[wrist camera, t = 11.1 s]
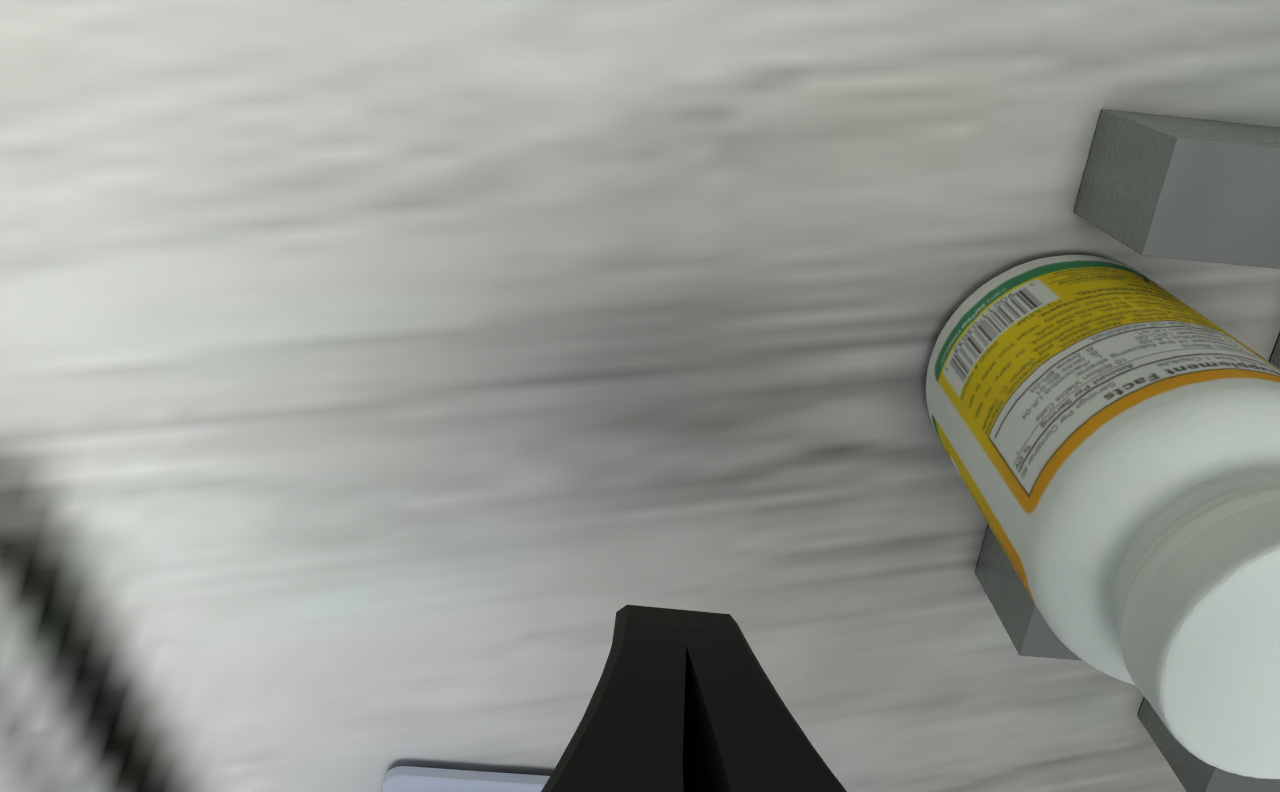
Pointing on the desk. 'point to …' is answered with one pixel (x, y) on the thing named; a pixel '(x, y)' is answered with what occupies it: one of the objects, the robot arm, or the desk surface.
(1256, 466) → the supplement bottle
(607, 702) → the robot arm
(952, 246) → the desk surface
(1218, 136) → the dock
